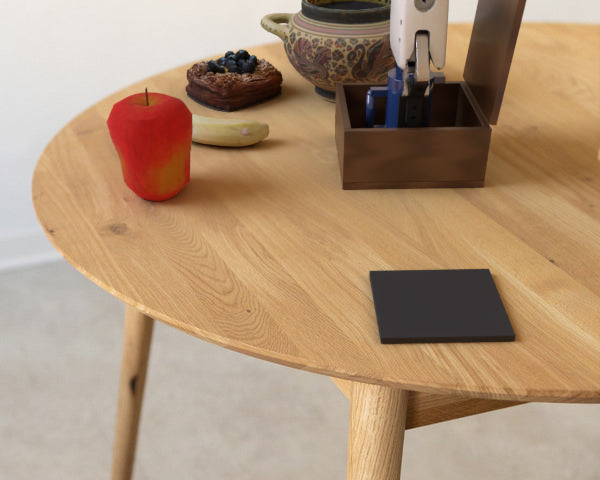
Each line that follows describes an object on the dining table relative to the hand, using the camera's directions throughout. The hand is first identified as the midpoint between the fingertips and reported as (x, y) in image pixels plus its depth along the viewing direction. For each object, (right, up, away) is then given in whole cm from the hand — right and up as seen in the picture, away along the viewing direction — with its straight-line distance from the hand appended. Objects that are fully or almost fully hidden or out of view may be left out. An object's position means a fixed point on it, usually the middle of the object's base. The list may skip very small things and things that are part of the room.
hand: (407, 118), depth 89 cm
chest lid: (+8, +9, -6) cm, 13 cm away
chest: (0, -4, +3) cm, 5 cm away
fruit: (-23, 0, +9) cm, 25 cm away
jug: (0, -4, +3) cm, 4 cm away
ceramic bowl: (-5, +8, +21) cm, 23 cm away
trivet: (0, -21, -21) cm, 30 cm away
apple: (-28, -9, -3) cm, 29 cm away
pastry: (-21, +8, +21) cm, 31 cm away
